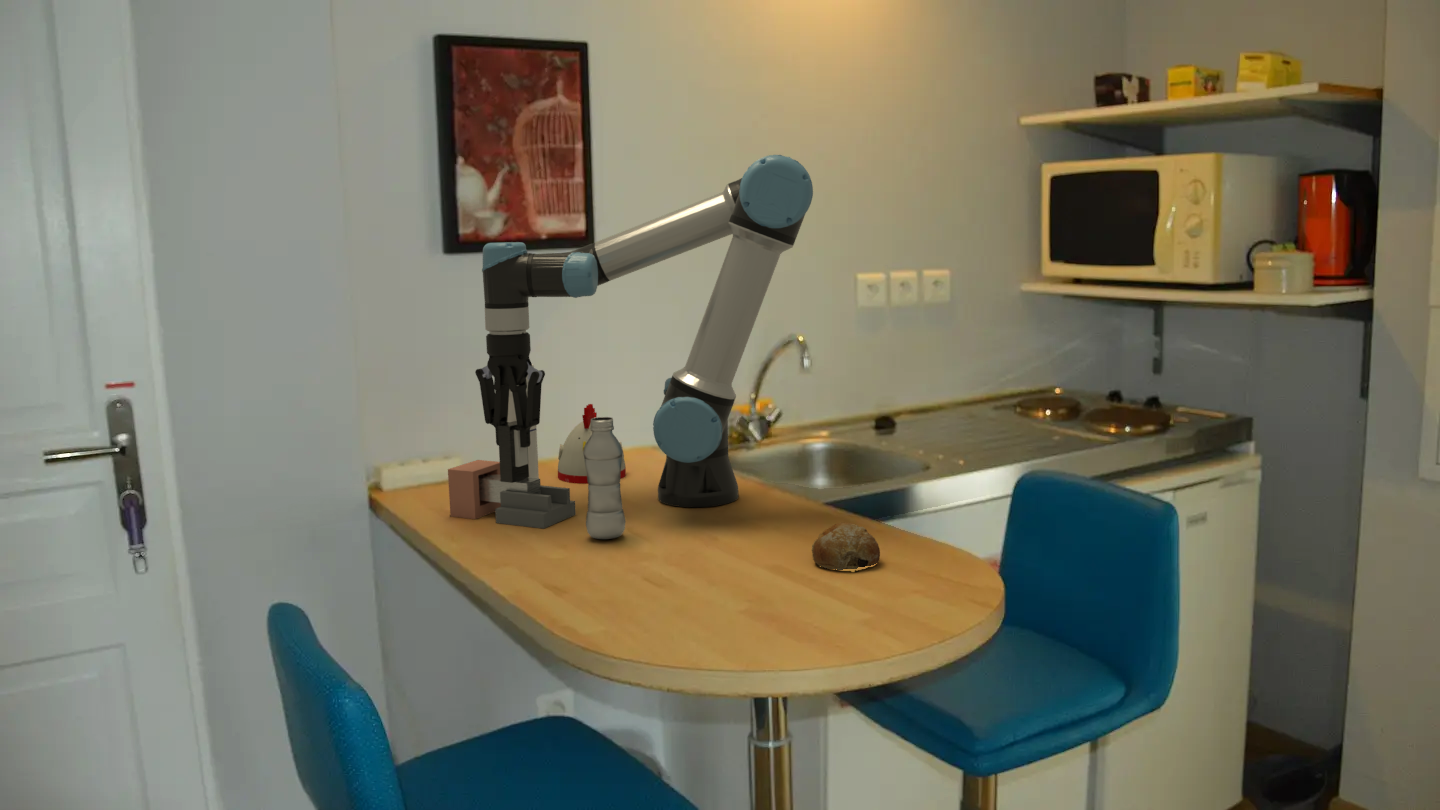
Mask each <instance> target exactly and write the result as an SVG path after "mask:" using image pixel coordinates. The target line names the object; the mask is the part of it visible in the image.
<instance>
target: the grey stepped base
mask: <svg viewBox="0 0 1440 810" xmlns="http://www.w3.org/2000/svg"><path fill="white" fill-rule="evenodd" d="M540 485H541V494H531V493H522V492H512V491H501V492H500V500H501V507H499V508H497V509H495V512H494V513H495V524H500V525H501V524H502V525H510V526H511V525H512V526H518V527H519V526H520V527H526V528H536V529H546V528H548V527H551V526H553V525H555V524H558V523H560V522H562V521H564V520H566V519H569V518H571V517H573V516H576V501H575V500H571V490H570V489H571V488H570V487H569V488H568V487H561V486H550V485H542V484H540Z"/></svg>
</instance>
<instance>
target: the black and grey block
mask: <svg viewBox="0 0 1440 810" xmlns="http://www.w3.org/2000/svg"><path fill="white" fill-rule="evenodd" d="M515 427H517V421H513V422H509V423H506V424H502V425H499V426H498V438H499V446H498V452H499V453H498V455H499V462H500V475H497V474H487V473H484V474H481V475H478V478H479V497H480V501H489V502H498V503H501V500H500V492H501V491H512V492H522V493H531V494H541V485H542V484H541V478H539V479H538V478H528V477H529V466H528V464H526V465H523V466H520V467H516V465H515V444H514V430H516V429H515ZM527 452H528V447H527Z"/></svg>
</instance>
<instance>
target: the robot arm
mask: <svg viewBox="0 0 1440 810" xmlns="http://www.w3.org/2000/svg"><path fill="white" fill-rule="evenodd" d="M811 179H812V177H811V176H810V173H809V172H808V170H807V169H806V168H805V166H804V165H803V164H801V163H800V162H799V161H798V160H796V159H794V158H792V157H791V156H786V155H783V154H770V155H769V154H768V155H766V156H763V157H760V158H758V159H757V160H755V161H754V162H753V163H752V164H750V166H748V168H747V170H746V171H745V172H744V173H743V176H742V177H741V178H739V179H737V180H734V181H732V182H729V183H728V184H726V185H725V187H724V189H723V191H722V192H720V193H717V194H714V195H713V196H712V195H711V196H709V197H707V198H704V199H702V200H699V201H697V202H694V203H692V204H689V205H686V206H684V207H681V208H678V209H677V210H673V211H671V212H669V213H666V214H664V215H661V216H659V217H656V218H654V219H650V220H648V221H645V222H643V223H641V224H638V225H636V226H632V227H631V228H628V229H625V230H622V231H621V232H618V233H616V234H613V235H610V236H608V237H605V238H602V239H600V240H598V241H595V242H593V243H590V244H587V245H584V246H582V247H579V248H576V249H574V250H572V251H568V252H553V253H549V252H548V253H547V252H546V253H532V252H528V250H527V246H526V244H525V243H524V242H519V241H516V242H513V241H511V242H507V241H506V242H505V241H504V242H487V243H486V244H485V245H484V246H483V248H482V269H481V272H482V280H483V281H482V282H483V283H482V284H483V296H484V323H485V324H484V325H485V330H486V332H489V333H488V334H487V333H486V336H485V341H486V354H487V355H488V357H489V358H488V361H487V364H486V365H485V366H484V367H481V368H477V369H475V376H476V378H477V380H478V382H479V389H480V395H481V396H480V397H481V402H482V403H481V404H482V409H483V415H484V422H485V424H487V425H489V424H490V425H491V426H492V427H494V428H495V443H496V446H498V447H499V438H498V426H499V425H502V424H506V423H509V422H507V420H508V403H509V389H510V391H511V392H512V394H513V401H514V407H515V414H516V420H517V427H515V429H516V430H514V444H515V465H516V467H520V466H523V465H526V464H528V452H527V447H529V446H530V428H531V427H532V426H535V425H536V426H537V425H539V424H540V421H541V420H540V418H541V400H542V399H541V398H542V384H543V381H544V379H545V376H546V373H545V370H544V369H541V370H538V369H537V368H535V366H534V367H532V364H533V363H532V362H531V358H530V354H531V352H532V350H531V349H532V348H531V335H530V333H529V332H528V331H527V330H529V329H530V312H529V305H530V304H529V298H575V299H577V298H583V297H591V296H594V295H595V294H596V292H597V289H598V287H599V286H602V285H603V284H605V283H606V284H607V283H609V282H611V281H614V280H616V279H618V278H621V277H624V276H626V275H629V274H632V273H634V272H636V271H640V270H642V269H644V268H647V267H651V266H653V265H655V264H658V263H660V262H663V261H665V260H668V259H670V258H673V257H676V256H679V255H681V254H684V253H687V252H688V251H691V250H694V249H697V248H699V247H703V246H705V245H707V244H710V243H713V242H715V241H717V240H721V239H722V238H723V239H724V238H726V237H728V236H731V235H732V238H731V241H730V244H729V246H728V249H727V251H726V254H725V257H724V259H723V262H722V265H721V268H720V271H719V274H718V276H717V278H716V281H715V284H714V287H713V290H712V292H711V295H710V297H709V299H708V300H709V301H708V303H707V306H706V308H705V311H704V314H703V317H702V320H701V322H700V324H699V327H698V330H697V332H696V336H695V338H694V341H693V343H692V347H691V350H690V352H689V356H688V357H687V360H686V363H685V366H684V367H682V368H681V369H678V370H677V371H675V372H673V373H672V376H671V377H668V378H667V379H665V381H664V387H663V388H664V389H663V395H664V397H663V400H662V402H661V406H660V407H659V409H658V410H657V411H656V413H655V415H654V417H653V422H652V425H653V427H652V430H653V437H654V440H655V443H656V445H657V446H658V448H659V449H660V451H662V453H663V454H664V455H666V457H665V463H664V466H663V469H662V473H661V476H660V479H659V482H658V486H657V499H658V501H659V502H661V503H662V504H665V505H669V506H674V507H675V506H676V507H681V508H683V507H685V508H708V507H716V506H722V505H727V504H731V503H733V502H735V501H737V500H738V498H739V484H738V481H737V478H736V476H735V472H734V470H733V467H732V465H731V461H730V457H729V417H730V413H731V411H732V409H733V407H734V403H735V401H736V398H737V395H736V392H735V390H734V388H733V381H734V379H735V377H736V376H735V375H736V373H737V371H738V369H739V366H740V362H741V359H742V358H743V355H744V352H745V349H746V347H747V344H748V341H749V339H750V336H751V333H752V331H753V328H754V327H755V326H754V325H755V322H756V321H757V317H758V315H759V312H760V310H761V307H762V304H763V302H764V300H765V296H766V294H767V291H768V288H769V286H770V283H771V281H772V277H773V275H774V273H775V270H776V268H777V265H778V262H779V259H780V256H781V255H782V253H784V252H786V251H788V250H790V249H792V248H793V247H794V245H795V243H796V240H797V237H798V234H799V232H800V229H801V226H802V223H804V222H803V221H804V218H805V216H806V214H807V212H808V210H809V209H810V207H811V204H812V200H813V197H814V196H813V195H814V191H813V190H814V189H813V188H814V186H813V182H812V180H811ZM527 375H528V377H527ZM526 377H527V379H528V380H529V382H528V391H527V394H526V389H527V382H526ZM517 385H519V386H517Z"/></svg>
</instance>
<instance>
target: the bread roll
mask: <svg viewBox="0 0 1440 810" xmlns="http://www.w3.org/2000/svg"><path fill="white" fill-rule="evenodd" d="M811 552H812V558H813V559H812V561H814V562H815V564H816V565H817V566H818V565H819V566H821V567H820V568H822V567H824V569H826V568H828V569H835V570H836V569H837V570H843V569H857V568H858V567H865V566H871V565H874V564H876V563H878V564H879V562H878V561H880V557H881V549H880V546H879V543H878V542H877V540H876V538H875V537H874V536H873V535H872V534H871V533H869V532H868V530H867V528H866V527H864V526H859V525H858V524H855V523H850V522H839V523H835V524H834V525H831V526H829V527H828V528H826V529H825V530H824V531H822V532H821V533H819V535H818V537H817V538H816V539H815V540H814V542H813V544H812V547H811ZM819 566H818V567H819ZM828 569H827V570H828Z"/></svg>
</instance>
